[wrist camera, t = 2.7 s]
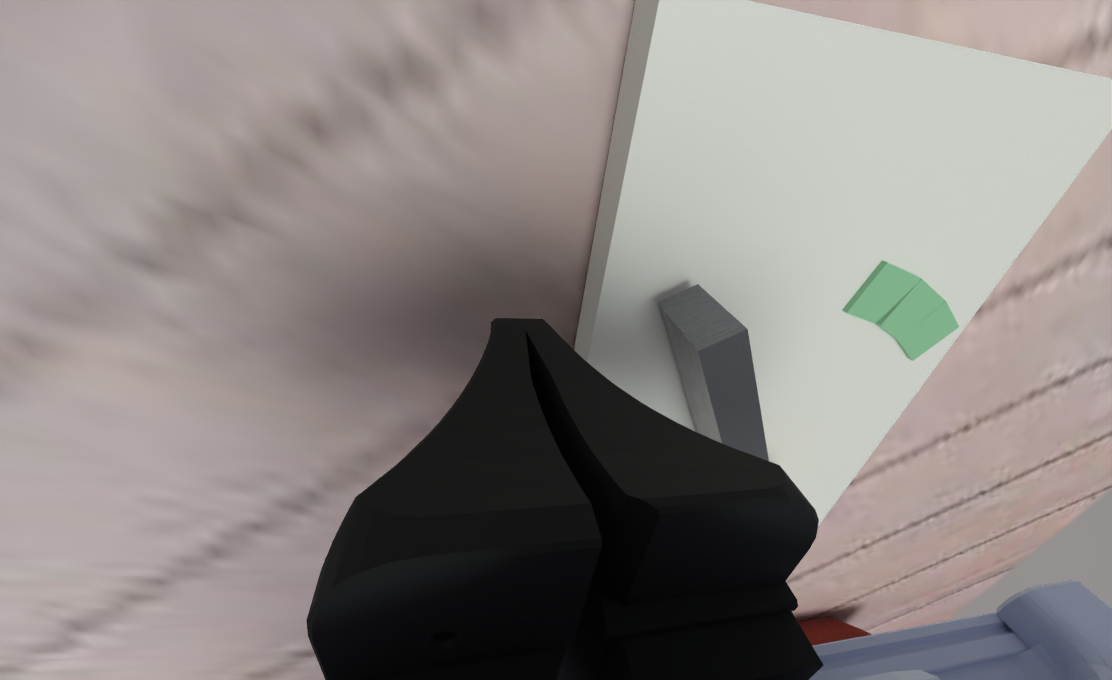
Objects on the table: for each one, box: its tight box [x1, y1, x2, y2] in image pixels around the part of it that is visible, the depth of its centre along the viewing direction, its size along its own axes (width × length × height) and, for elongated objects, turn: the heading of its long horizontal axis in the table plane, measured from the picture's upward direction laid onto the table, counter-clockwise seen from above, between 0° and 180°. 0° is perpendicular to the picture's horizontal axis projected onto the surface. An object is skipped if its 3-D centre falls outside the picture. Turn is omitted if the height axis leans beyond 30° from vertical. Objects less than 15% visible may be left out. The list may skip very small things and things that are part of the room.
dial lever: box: [657, 284, 769, 461], centre depth 14 cm, size 12×4×3 cm, turn 23°
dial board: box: [574, 0, 1112, 526], centre depth 15 cm, size 20×14×2 cm
